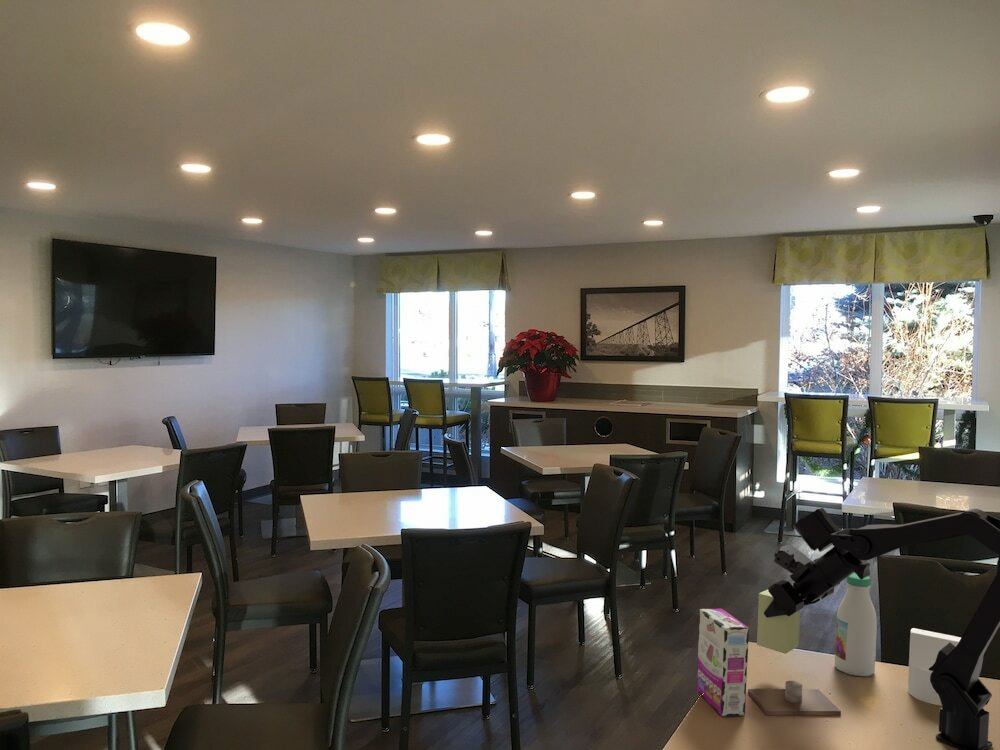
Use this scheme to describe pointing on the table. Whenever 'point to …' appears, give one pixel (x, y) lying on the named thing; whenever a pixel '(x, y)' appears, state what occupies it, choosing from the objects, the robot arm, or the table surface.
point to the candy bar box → (722, 661)
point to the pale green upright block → (776, 627)
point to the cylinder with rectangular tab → (925, 662)
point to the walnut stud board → (787, 708)
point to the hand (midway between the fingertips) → (772, 611)
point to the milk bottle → (856, 629)
